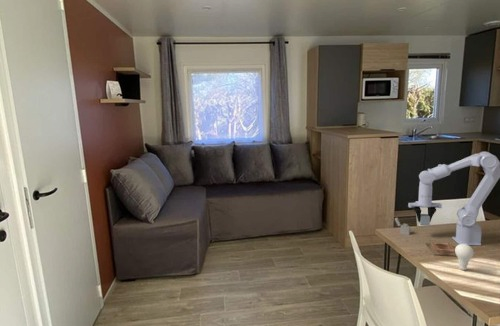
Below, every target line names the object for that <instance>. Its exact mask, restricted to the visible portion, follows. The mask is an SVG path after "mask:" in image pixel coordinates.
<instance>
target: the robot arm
mask: <svg viewBox="0 0 500 326" xmlns="http://www.w3.org/2000/svg"><path fill="white" fill-rule="evenodd" d="M471 166H474V167H478V168H479V167H480V166H481V167H482V170H483V171H484V176H483V178H482V179H481V180H480V182H479V184H478V186H476V188H475V191H474V192H473V193H472V195H471V196H470V198H469V200H468V201H467V203H466V204H464V205H463V206H462V207H461V208H459V209H458V210H457V211H456V212H457V213H456V215H457V218H458V220H457V221H456V226H455V227H456V229H455V236H452V237H451V238H452V239H453V240H454V241H455V242H456V243H457V245H459V244H467V245H469V246H482V243H481V242H482V227H481V226H480V225H479V224H478V223H477V217H478V216H479V211H480V209H481V207H482V206H483V204H484V202H485V201H486V200H487V197H488V196H489V195H490V193H491V192H492V190H493V189H494V187H495V186H496V184H497V182H498V181H499V180H500V160H499V159H498V157H497V156H496V155H494V154H492V153H490V152H488V151H480V152H479V153H474V154H471V155H470V156H467V157H464V158H463V159H462V158H461V160H457V161H455V162H452V163H449V164H445V163H443V164H441V163H440V164H438V165H437V166H435V167H433V168H427V170H423V171H421V172H420V173H419V174H418V178H419V186H418V199H417V200H418V201H414V202H407V203H408V205H407V207H408V208H413V209H414V212H415V215H416V218H417V221H419V222H420V220H421V214H422V208H425V209H426V208H427V214H428V215H429V216H430V223H431V221H432V218H433V216H434V214H436V212H437V208H438V209H442V207H443V205H442V203H441V202H439V203H438V202H433V183H434V181H437V180H440V179H443V178H445V177H447V176H451V173H452V172H455V171H457V170H461V169H463V168H467V167H471Z"/></svg>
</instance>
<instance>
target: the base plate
mask: <svg viewBox="0 0 500 326" xmlns="http://www.w3.org/2000/svg"><path fill="white" fill-rule="evenodd" d="M425 245H426V247H427V248H428V249H429V251H430V252H431V254H433V256H434V257H456V258H458V257H457V255H456V253H455V248H456V246H454V245H453V244H451V243H449V242H448V243H447V242H445V243H444V242H431V243H426V244H425Z"/></svg>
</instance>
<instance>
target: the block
mask: <svg viewBox="0 0 500 326" xmlns="http://www.w3.org/2000/svg"><path fill="white" fill-rule="evenodd" d="M417 221H418V220H417ZM417 223H418V224H419V225H420V226H430V223H431V222H430V216H429V215H428V213H421V220H420V222H419V221H418V222H417Z"/></svg>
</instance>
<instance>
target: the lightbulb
mask: <svg viewBox="0 0 500 326" xmlns="http://www.w3.org/2000/svg"><path fill="white" fill-rule="evenodd" d="M455 253H456V255H457V257H456V258H457V259H458V268H459V269H460V270H462V271H467V269H468V265H469V262H470V260H471V259H472V258H473V257H474V253H475V252H474V249H473V248H472V246H471V245H467V244H457V245H456V246H455Z"/></svg>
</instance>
